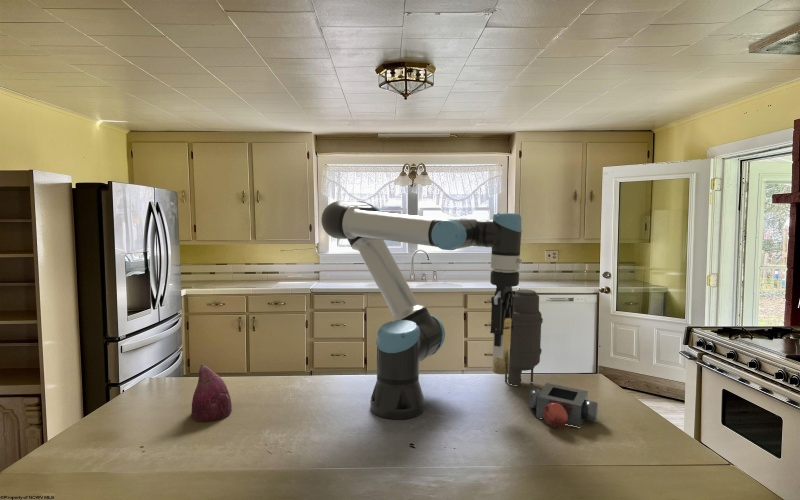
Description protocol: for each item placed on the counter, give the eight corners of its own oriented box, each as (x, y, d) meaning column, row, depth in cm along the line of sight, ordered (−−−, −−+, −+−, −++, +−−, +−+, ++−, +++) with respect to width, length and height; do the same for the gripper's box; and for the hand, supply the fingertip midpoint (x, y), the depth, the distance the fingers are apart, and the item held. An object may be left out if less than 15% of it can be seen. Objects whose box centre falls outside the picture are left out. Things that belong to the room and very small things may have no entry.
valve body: (520, 420, 116) (521, 396, 116) (535, 400, 129) (536, 379, 128) (590, 438, 108) (591, 412, 107) (599, 415, 120) (600, 391, 120)
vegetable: (185, 429, 117) (167, 376, 115) (215, 408, 126) (198, 359, 124) (214, 427, 112) (195, 372, 111) (242, 406, 122) (225, 355, 120)
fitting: (489, 372, 121) (491, 318, 120) (495, 367, 125) (497, 315, 124) (505, 375, 119) (508, 320, 117) (511, 370, 123) (513, 317, 121)
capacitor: (533, 394, 134) (536, 295, 131) (490, 384, 141) (493, 291, 139) (545, 380, 145) (548, 289, 143) (505, 371, 152) (508, 285, 150)
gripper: (508, 275, 110) (504, 366, 112) (527, 268, 125) (523, 349, 127) (479, 272, 114) (476, 360, 116) (502, 266, 129) (498, 344, 131)
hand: (501, 354), depth 121 cm, fingers closed on fitting, 4 cm apart
